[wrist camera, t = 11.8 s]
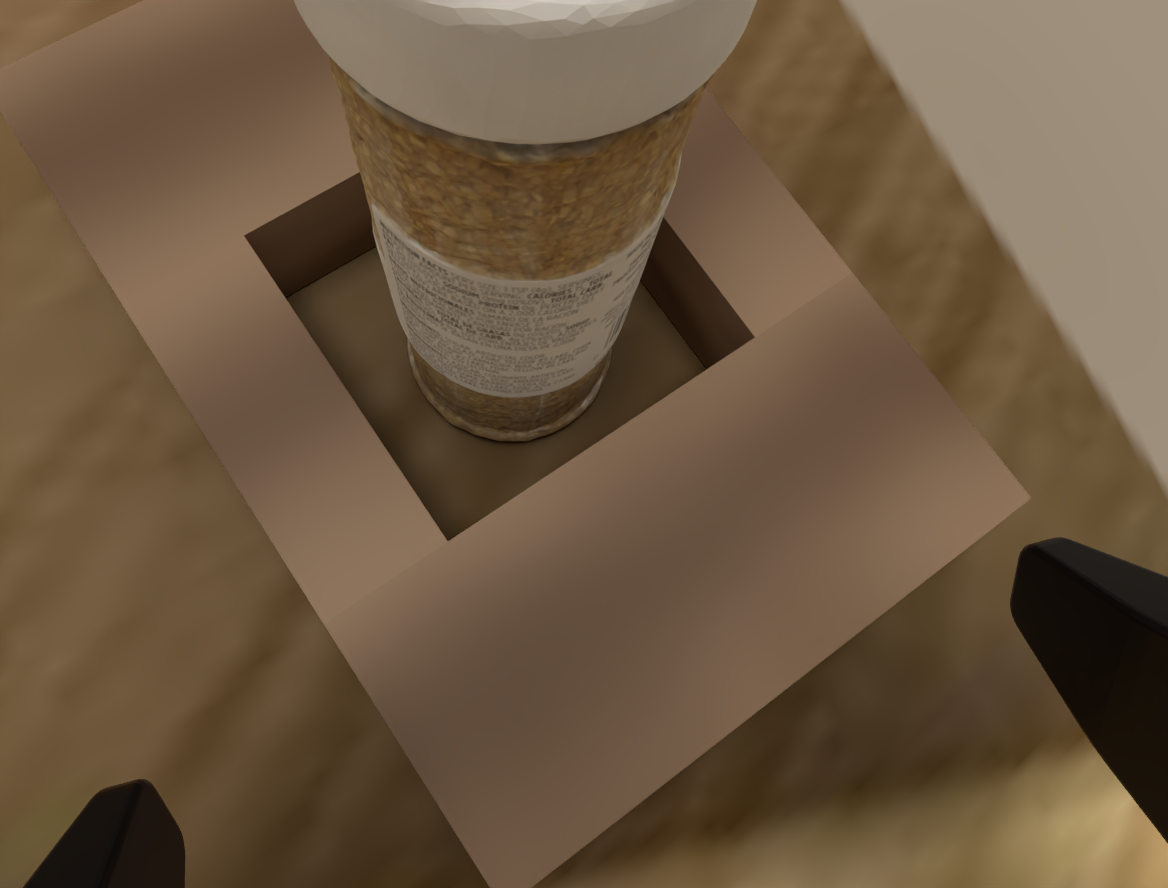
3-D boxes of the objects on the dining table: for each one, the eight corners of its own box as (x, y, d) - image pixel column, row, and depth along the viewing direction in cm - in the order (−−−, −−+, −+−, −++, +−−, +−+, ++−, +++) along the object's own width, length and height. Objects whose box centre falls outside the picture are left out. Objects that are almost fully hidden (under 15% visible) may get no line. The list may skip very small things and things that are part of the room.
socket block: (953, 522, 19) (1031, 498, 17) (503, 866, 17) (504, 909, 14) (502, -62, 22) (502, -170, 19) (56, 163, 20) (-21, 77, 17)
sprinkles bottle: (470, 224, 20) (416, -566, 7) (645, 313, 20) (914, -325, 7) (368, 390, 19) (84, -193, 6) (554, 486, 19) (675, 104, 6)
